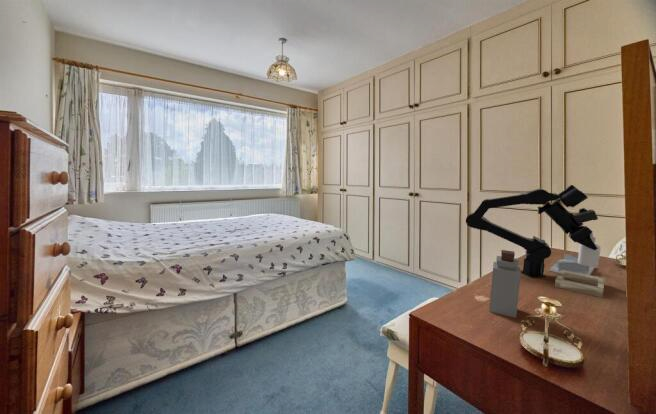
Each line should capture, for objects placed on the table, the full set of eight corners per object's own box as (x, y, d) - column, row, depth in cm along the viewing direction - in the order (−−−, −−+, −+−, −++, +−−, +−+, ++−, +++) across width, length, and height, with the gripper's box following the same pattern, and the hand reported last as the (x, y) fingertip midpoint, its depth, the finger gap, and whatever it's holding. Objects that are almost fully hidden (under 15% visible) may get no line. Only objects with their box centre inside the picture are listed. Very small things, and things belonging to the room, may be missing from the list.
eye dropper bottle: (579, 262, 110) (583, 231, 109) (599, 266, 106) (603, 234, 104) (576, 264, 108) (579, 232, 106) (596, 268, 103) (600, 235, 102)
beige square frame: (602, 297, 96) (603, 290, 95) (554, 286, 105) (555, 279, 104) (603, 284, 107) (604, 278, 106) (560, 275, 116) (561, 269, 115)
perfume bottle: (515, 308, 88) (521, 251, 86) (516, 318, 82) (522, 256, 80) (489, 302, 91) (494, 247, 89) (489, 311, 86) (494, 253, 83)
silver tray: (549, 270, 121) (550, 261, 120) (560, 260, 134) (561, 252, 133) (587, 279, 112) (588, 269, 111) (594, 267, 125) (596, 258, 125)
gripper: (588, 204, 98) (628, 240, 94) (576, 199, 114) (610, 230, 110) (556, 224, 103) (592, 259, 99) (549, 217, 119) (580, 247, 115)
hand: (594, 248), depth 105 cm, fingers closed on eye dropper bottle, 3 cm apart
